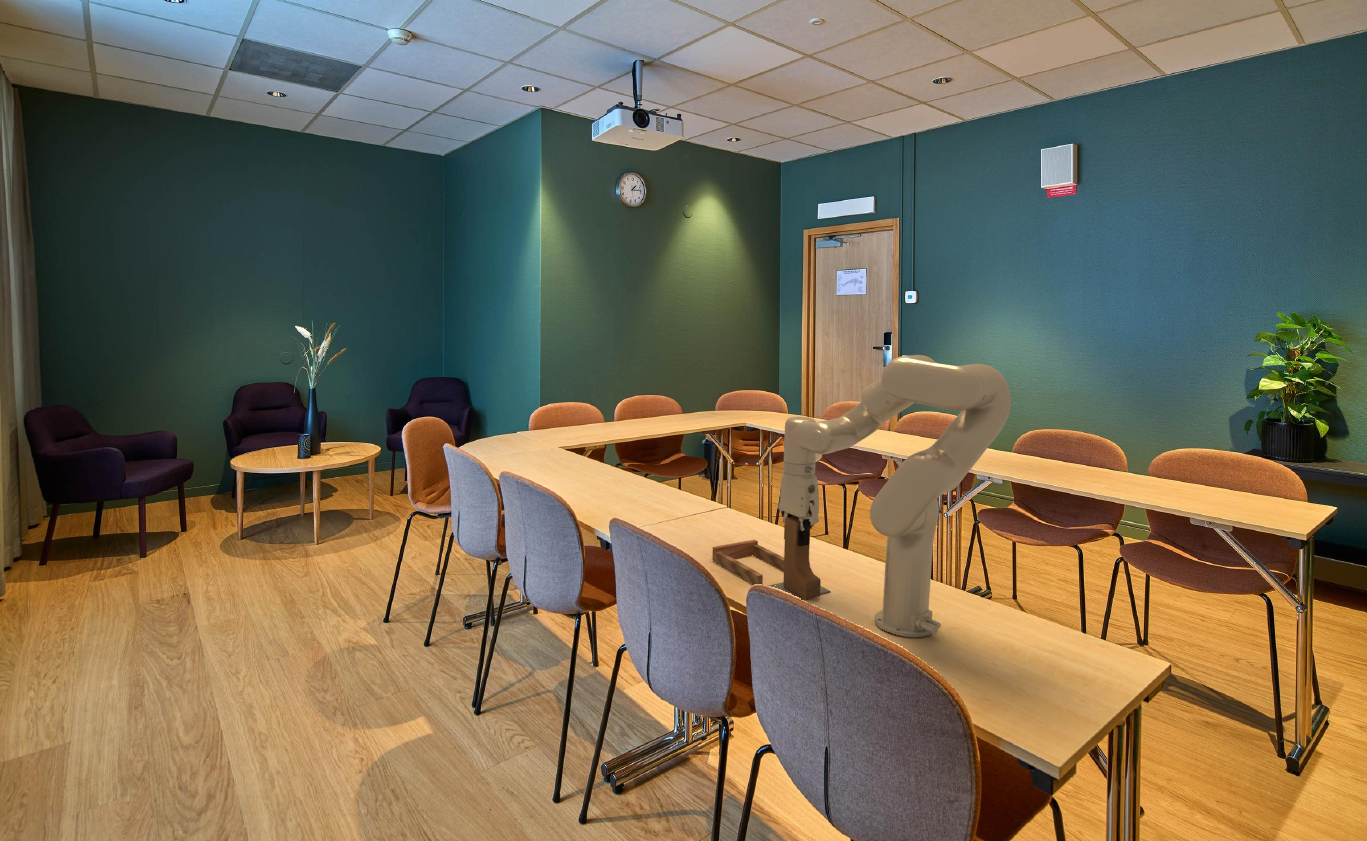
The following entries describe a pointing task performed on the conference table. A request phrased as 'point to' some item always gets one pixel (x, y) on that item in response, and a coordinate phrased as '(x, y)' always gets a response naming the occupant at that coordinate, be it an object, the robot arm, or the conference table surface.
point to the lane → (730, 552)
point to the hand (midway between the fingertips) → (796, 541)
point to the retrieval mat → (780, 586)
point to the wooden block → (798, 563)
